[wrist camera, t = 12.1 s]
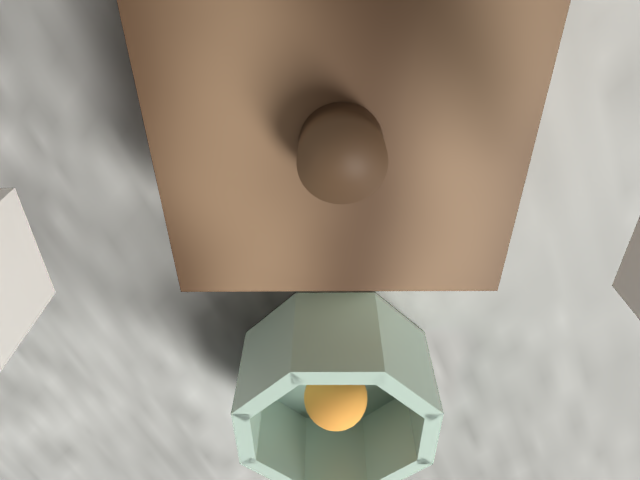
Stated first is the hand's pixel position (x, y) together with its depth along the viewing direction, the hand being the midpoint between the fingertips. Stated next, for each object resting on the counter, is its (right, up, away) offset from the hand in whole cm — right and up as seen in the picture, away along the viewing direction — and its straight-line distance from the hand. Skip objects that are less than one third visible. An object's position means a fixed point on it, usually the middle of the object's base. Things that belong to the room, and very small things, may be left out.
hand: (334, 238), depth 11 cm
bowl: (+1, -7, +16) cm, 18 cm away
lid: (0, +4, +5) cm, 7 cm away
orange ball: (+1, -7, +15) cm, 17 cm away
